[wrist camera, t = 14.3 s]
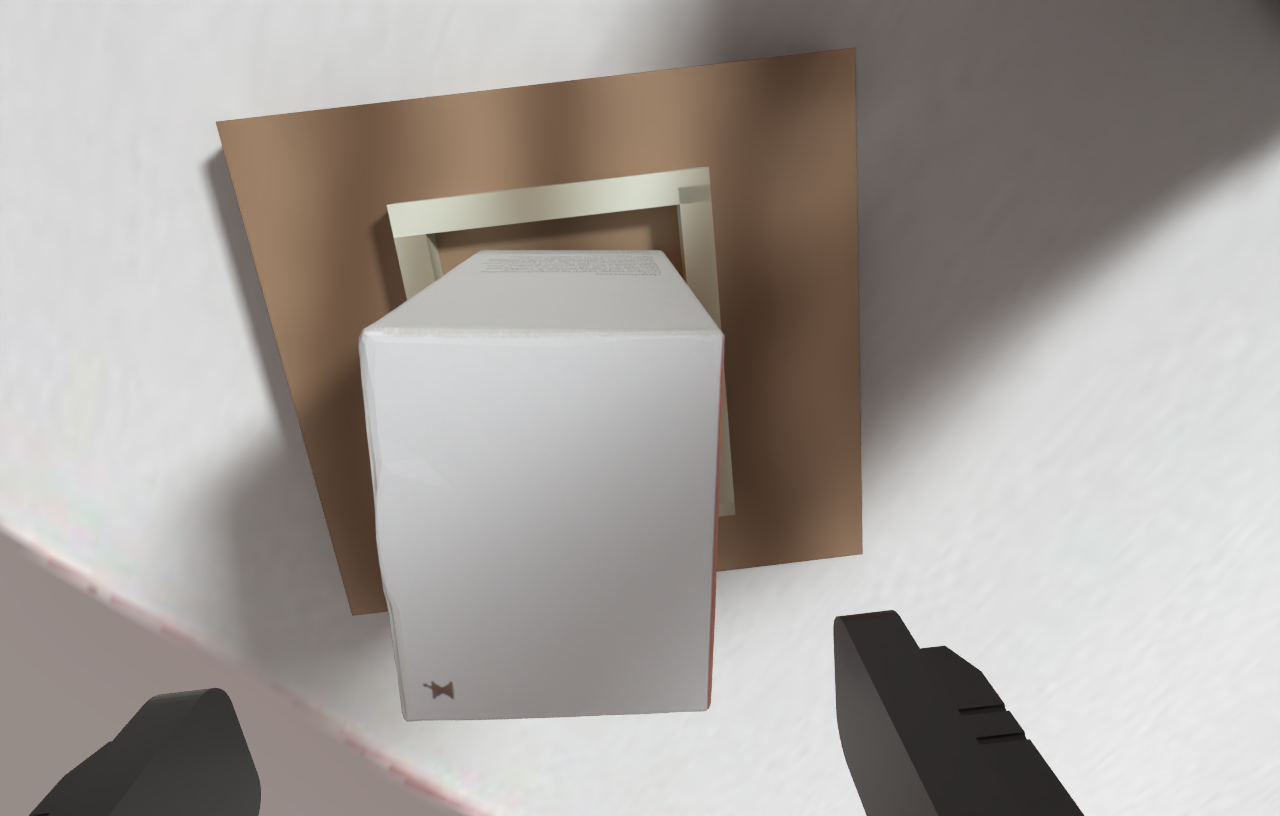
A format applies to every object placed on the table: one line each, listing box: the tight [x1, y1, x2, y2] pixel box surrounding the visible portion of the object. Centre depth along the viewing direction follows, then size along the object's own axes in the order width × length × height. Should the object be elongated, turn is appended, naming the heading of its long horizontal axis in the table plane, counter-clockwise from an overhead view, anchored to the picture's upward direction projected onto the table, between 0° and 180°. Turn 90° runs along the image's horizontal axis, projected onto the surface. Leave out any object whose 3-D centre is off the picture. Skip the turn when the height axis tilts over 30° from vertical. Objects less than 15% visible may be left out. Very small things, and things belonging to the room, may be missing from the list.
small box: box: [358, 250, 725, 721], centre depth 20 cm, size 8×6×13 cm
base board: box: [216, 48, 863, 616], centre depth 26 cm, size 20×18×3 cm
